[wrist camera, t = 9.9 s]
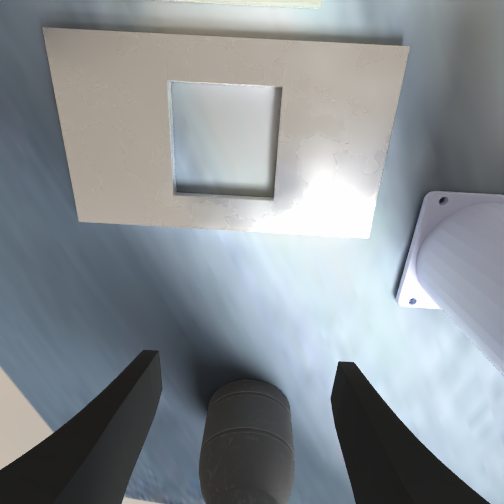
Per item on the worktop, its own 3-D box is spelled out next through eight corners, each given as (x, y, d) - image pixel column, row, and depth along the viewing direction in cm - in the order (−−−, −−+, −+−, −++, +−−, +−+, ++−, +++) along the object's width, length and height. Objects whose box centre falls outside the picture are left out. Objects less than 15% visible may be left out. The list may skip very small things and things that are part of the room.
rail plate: (403, 49, 16) (410, 46, 15) (364, 233, 20) (368, 238, 19) (52, 31, 16) (41, 27, 15) (85, 217, 20) (79, 221, 19)
